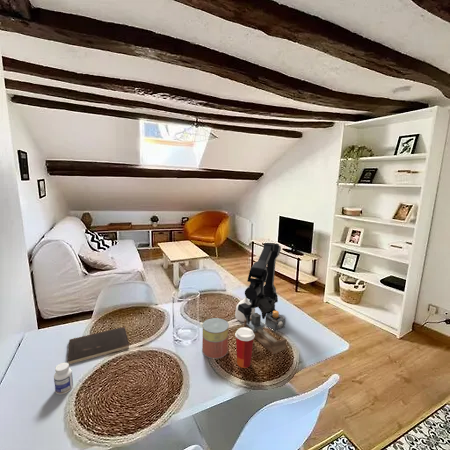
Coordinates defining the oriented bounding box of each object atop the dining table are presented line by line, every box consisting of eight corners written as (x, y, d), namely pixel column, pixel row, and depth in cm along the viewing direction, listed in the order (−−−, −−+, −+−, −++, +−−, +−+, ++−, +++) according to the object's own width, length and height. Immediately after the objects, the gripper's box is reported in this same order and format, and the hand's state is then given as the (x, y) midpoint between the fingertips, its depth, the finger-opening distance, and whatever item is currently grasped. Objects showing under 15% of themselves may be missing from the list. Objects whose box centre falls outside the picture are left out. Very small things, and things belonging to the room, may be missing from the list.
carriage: (246, 327, 126) (247, 313, 125) (256, 323, 130) (257, 310, 128) (254, 333, 121) (254, 319, 120) (264, 329, 125) (265, 316, 123)
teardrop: (242, 324, 132) (243, 302, 130) (231, 314, 141) (231, 294, 139) (259, 319, 137) (260, 298, 135) (247, 309, 147) (248, 290, 145)
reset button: (271, 319, 131) (271, 311, 130) (275, 317, 133) (275, 310, 132) (275, 321, 128) (275, 314, 128) (279, 320, 130) (280, 312, 129)
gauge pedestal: (265, 324, 132) (265, 315, 131) (275, 320, 136) (275, 312, 135) (274, 331, 126) (275, 322, 125) (285, 327, 130) (285, 318, 129)
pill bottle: (60, 383, 91) (58, 361, 90) (75, 382, 92) (74, 360, 90) (52, 395, 86) (49, 372, 85) (68, 394, 87) (66, 371, 85)
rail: (243, 328, 128) (244, 320, 127) (254, 324, 132) (255, 316, 131) (273, 354, 110) (274, 344, 109) (285, 349, 113) (286, 339, 112)
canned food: (210, 339, 119) (210, 315, 117) (232, 346, 114) (232, 322, 112) (197, 353, 109) (197, 327, 107) (220, 362, 104) (221, 335, 102)
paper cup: (253, 357, 107) (254, 327, 105) (253, 371, 100) (254, 338, 97) (234, 356, 108) (235, 325, 105) (233, 369, 100) (234, 337, 98)
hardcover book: (129, 349, 111) (129, 344, 111) (67, 366, 100) (67, 361, 100) (124, 330, 125) (124, 326, 124) (69, 343, 114) (69, 338, 114)
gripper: (252, 302, 110) (250, 335, 113) (283, 293, 120) (281, 324, 123) (237, 293, 120) (236, 323, 122) (268, 285, 129) (266, 313, 132)
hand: (255, 321), depth 125 cm, fingers open, 9 cm apart
